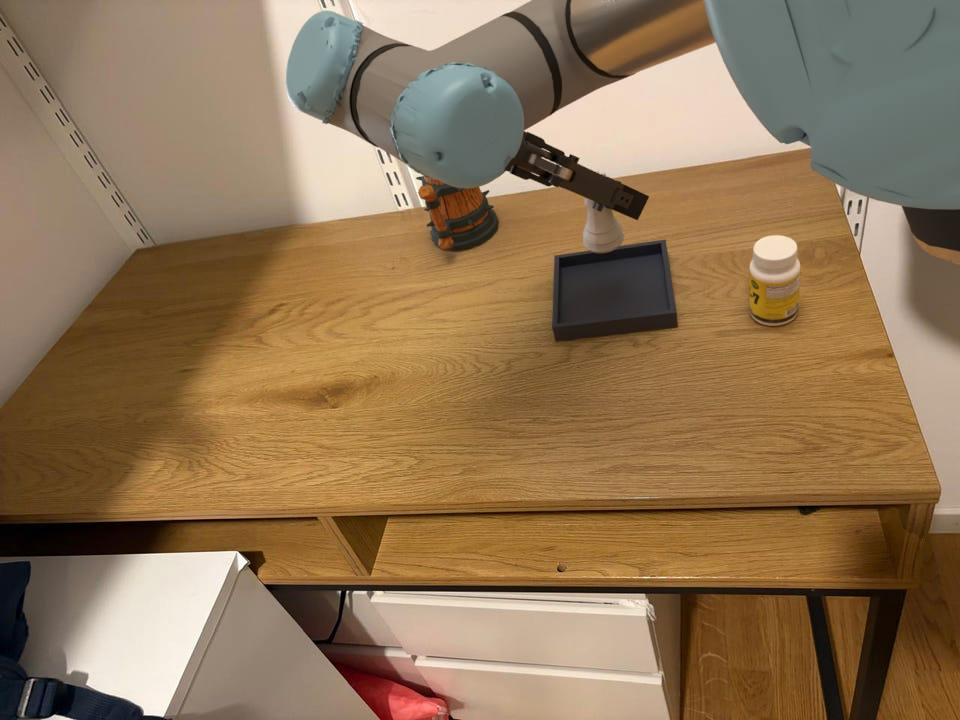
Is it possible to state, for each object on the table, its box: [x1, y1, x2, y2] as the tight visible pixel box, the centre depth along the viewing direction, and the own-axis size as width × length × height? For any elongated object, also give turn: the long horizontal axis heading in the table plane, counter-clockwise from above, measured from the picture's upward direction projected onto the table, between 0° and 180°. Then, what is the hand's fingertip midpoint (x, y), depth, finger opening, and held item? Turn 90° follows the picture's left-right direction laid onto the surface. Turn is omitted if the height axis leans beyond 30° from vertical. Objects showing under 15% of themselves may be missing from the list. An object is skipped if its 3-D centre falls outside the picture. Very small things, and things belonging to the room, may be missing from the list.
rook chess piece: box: [582, 170, 625, 253], centre depth 78 cm, size 4×4×8 cm
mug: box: [415, 175, 500, 252], centre depth 98 cm, size 13×10×12 cm
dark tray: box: [551, 239, 679, 342], centre depth 85 cm, size 13×13×2 cm
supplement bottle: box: [748, 234, 801, 327], centre depth 74 cm, size 5×5×8 cm
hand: (627, 201), depth 79 cm, fingers closed on rook chess piece, 3 cm apart
